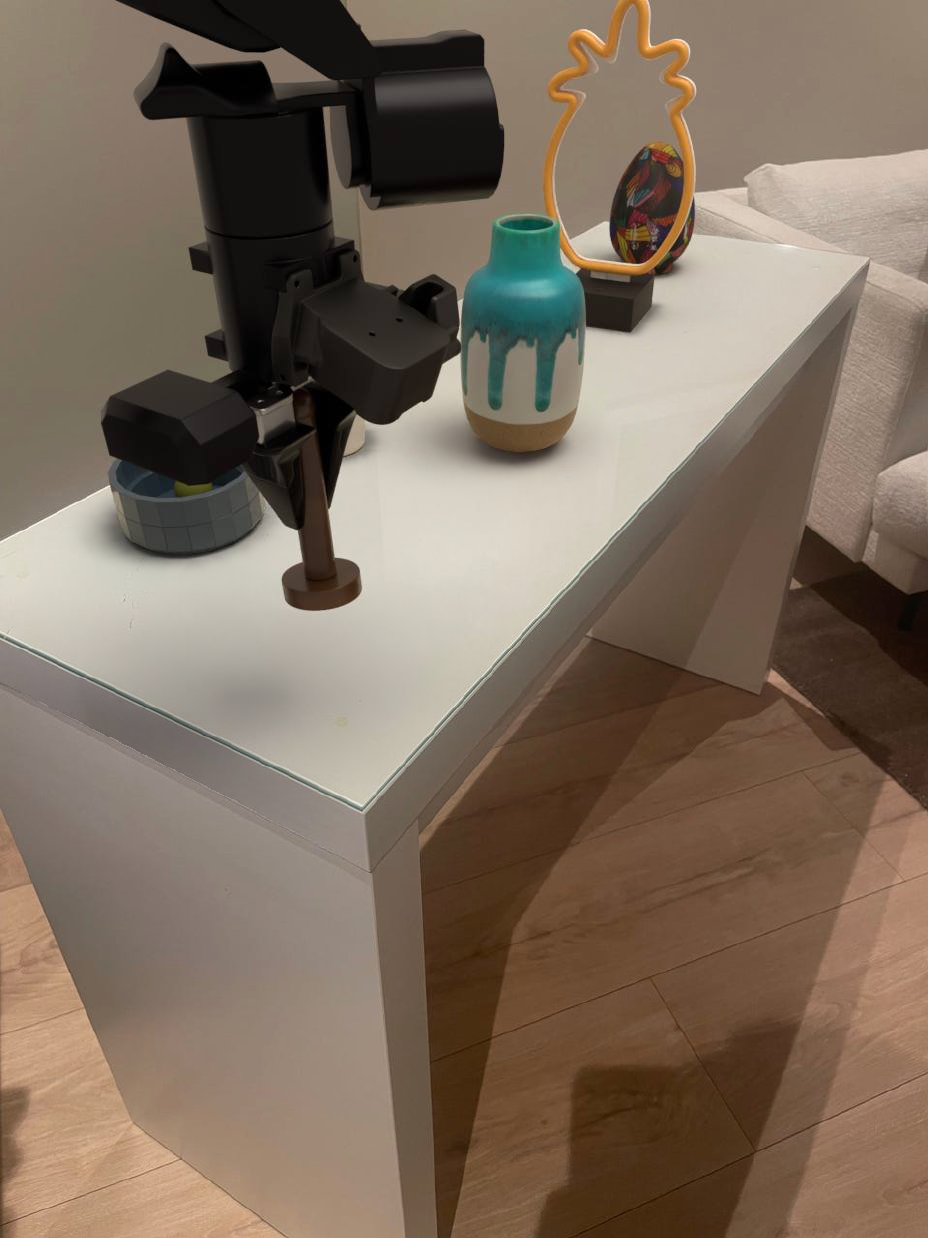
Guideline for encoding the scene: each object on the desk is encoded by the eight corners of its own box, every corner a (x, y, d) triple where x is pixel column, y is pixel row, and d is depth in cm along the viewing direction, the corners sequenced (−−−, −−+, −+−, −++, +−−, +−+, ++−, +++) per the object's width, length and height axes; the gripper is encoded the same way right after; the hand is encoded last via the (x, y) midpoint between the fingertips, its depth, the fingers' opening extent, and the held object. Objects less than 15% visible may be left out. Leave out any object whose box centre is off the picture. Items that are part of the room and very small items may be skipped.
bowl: (93, 530, 75) (76, 475, 72) (197, 472, 83) (186, 419, 80) (193, 574, 70) (180, 517, 67) (294, 508, 78) (286, 453, 75)
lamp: (525, 316, 111) (534, -7, 92) (550, 292, 118) (564, -15, 98) (665, 337, 106) (707, -2, 86) (684, 310, 112) (727, -10, 93)
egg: (705, 269, 124) (723, 143, 115) (647, 286, 119) (661, 156, 110) (646, 249, 131) (659, 129, 121) (589, 265, 126) (597, 140, 117)
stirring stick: (268, 596, 54) (232, 390, 48) (329, 568, 57) (301, 371, 51) (317, 619, 51) (284, 404, 46) (378, 589, 54) (354, 382, 48)
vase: (460, 416, 91) (457, 204, 79) (571, 414, 91) (585, 202, 79) (462, 471, 82) (460, 243, 71) (584, 469, 82) (602, 240, 71)
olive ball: (177, 497, 78) (160, 491, 75) (196, 466, 78) (180, 459, 75) (205, 517, 78) (190, 512, 75) (225, 486, 77) (210, 480, 74)
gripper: (258, 320, 33) (307, 663, 42) (529, 197, 45) (520, 485, 55) (50, 265, 38) (137, 584, 47) (346, 168, 50) (367, 437, 60)
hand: (307, 518), depth 52 cm, fingers closed on stirring stick, 2 cm apart
